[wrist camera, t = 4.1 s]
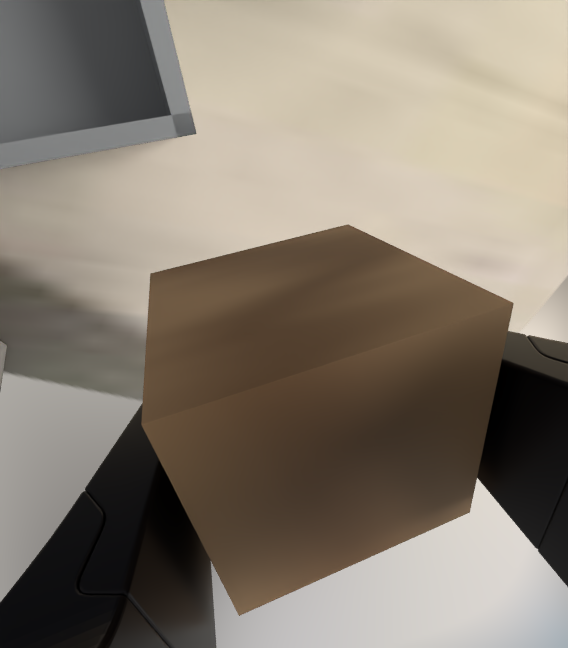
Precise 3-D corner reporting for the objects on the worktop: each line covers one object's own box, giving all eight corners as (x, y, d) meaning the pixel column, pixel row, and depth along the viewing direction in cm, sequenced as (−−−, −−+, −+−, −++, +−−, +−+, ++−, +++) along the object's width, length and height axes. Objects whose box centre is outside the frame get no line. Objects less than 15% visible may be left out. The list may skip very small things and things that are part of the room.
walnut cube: (347, 224, 9) (513, 302, 5) (356, 375, 12) (469, 512, 7) (150, 273, 8) (141, 424, 4) (207, 425, 11) (239, 615, 6)
